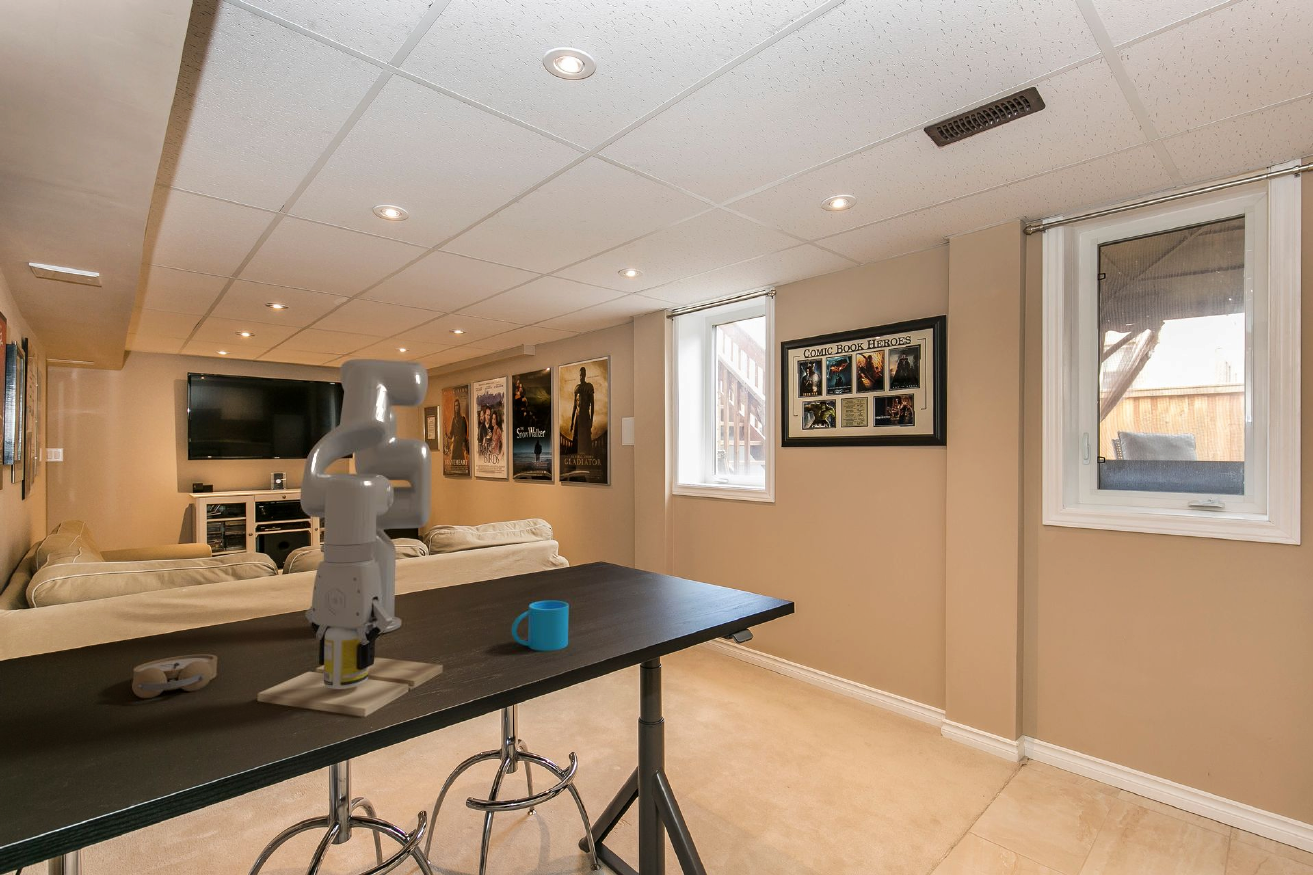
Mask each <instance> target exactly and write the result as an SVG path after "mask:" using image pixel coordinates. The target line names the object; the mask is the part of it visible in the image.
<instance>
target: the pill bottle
mask: <svg viewBox="0 0 1313 875" xmlns="http://www.w3.org/2000/svg"><path fill="white" fill-rule="evenodd" d="M365 628H366V631H367V634H368V633H369V632H368V629H367V627H365ZM359 644H361V641H360V638H359V635H358V632H357V629H350V628H340V627H330V628H328V629H327V631H326V633H325V645H324V685H325V686H326V687H328V688H331V689H346V688H351V687H355V686H358V685H361V684H362V683H364V682H365V681H366V680H367V679H368V673H369V667H367V668H365V669H363V670H358V669H357V646H358V645H359Z"/></svg>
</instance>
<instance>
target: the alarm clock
mask: <svg viewBox="0 0 1313 875" xmlns="http://www.w3.org/2000/svg"><path fill="white" fill-rule="evenodd" d="M217 666H218V656H217V655H215V654H214V655H213V654H206V653H205V654H204V653H202V654H188V655H187V654H186V655H180V656H179V655H178V656H172V657H167V658H161V659H156V660H153V661H148V662H145V663H142V664H139V665H137V666H135V667H133V676H132V677H133V680H132V683H131V687H132V691H133V693H134V694H135V695H136V696H137V697H139V698H141V699H151V698H155V697H157V696H159V695H161V693H163V692H165V691H173V690H177V689H182V690H184V691H185V692H195V691H199V690H201V689H204V688H205V687H206V686H207V685H208V684H209V683H210V681H211V680H213V679H214V678H216V677H217V675H218V673H217V669H218V668H217Z"/></svg>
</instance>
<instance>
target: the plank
mask: <svg viewBox="0 0 1313 875" xmlns="http://www.w3.org/2000/svg"><path fill="white" fill-rule="evenodd" d="M408 692H409V690H408V684H402V683H394V682H386V681H378V680H370V679H367V680H366V681H365V682H364V683H362V684H361V685H358V686H355V687H351V688H346V689H331V688H328V687H326V686H325V685H324V674H323V673H316V671H315V672H314V671H313V672H312V671H307V672H304V673H301V674H300V675H298V676H296V677H293V678H290V679H288V680H285V681H283V682H282V683H279V684H276V685H274V686H272V687H269V688H267V689H265V690H262V691H260V692H258V693H257V702H263V703H269V704H276V705H280V706H281V705H283V706H289V707H296V708H303V709H308V710H309V709H310V710H315V711H316V710H318V711H322V712H324V711H325V712H330V713H337V714H343V715H344V714H345V715H350V716H351V715H352V716H358V717H368V716H369V715H371V714H373V713H375V712H376V711H377V710H379V709H381V708H382V707H384V706H386V705H388V704H390V703H391V702H393V701H395V700H397V699H398V698H400V697H401V696H403V695H405V694H406V693H408Z"/></svg>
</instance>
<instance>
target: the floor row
mask: <svg viewBox="0 0 1313 875" xmlns="http://www.w3.org/2000/svg"><path fill="white" fill-rule="evenodd" d="M443 668H444V667H443V665H442V664H436V663H435V664H434V663H425V662H418V661H409V660H408V661H407V660H401V659H394V658H393V659H392V658H385V657H384V658H383V657H375V658H374V664H373V665H371V666H369V673H368V679H370V680H378V681H386V682H394V683H402V684H408V691H412V690H413V689H415V688H417V687H419V686H420V685H422V684H424V683H425V682H428V681H430V680H431V679H432V678H434V677H436V676H439V674H442V673H443V670H444V669H443ZM315 673H323V674H324V665H320V666H318V667H316V668H315Z"/></svg>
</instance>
